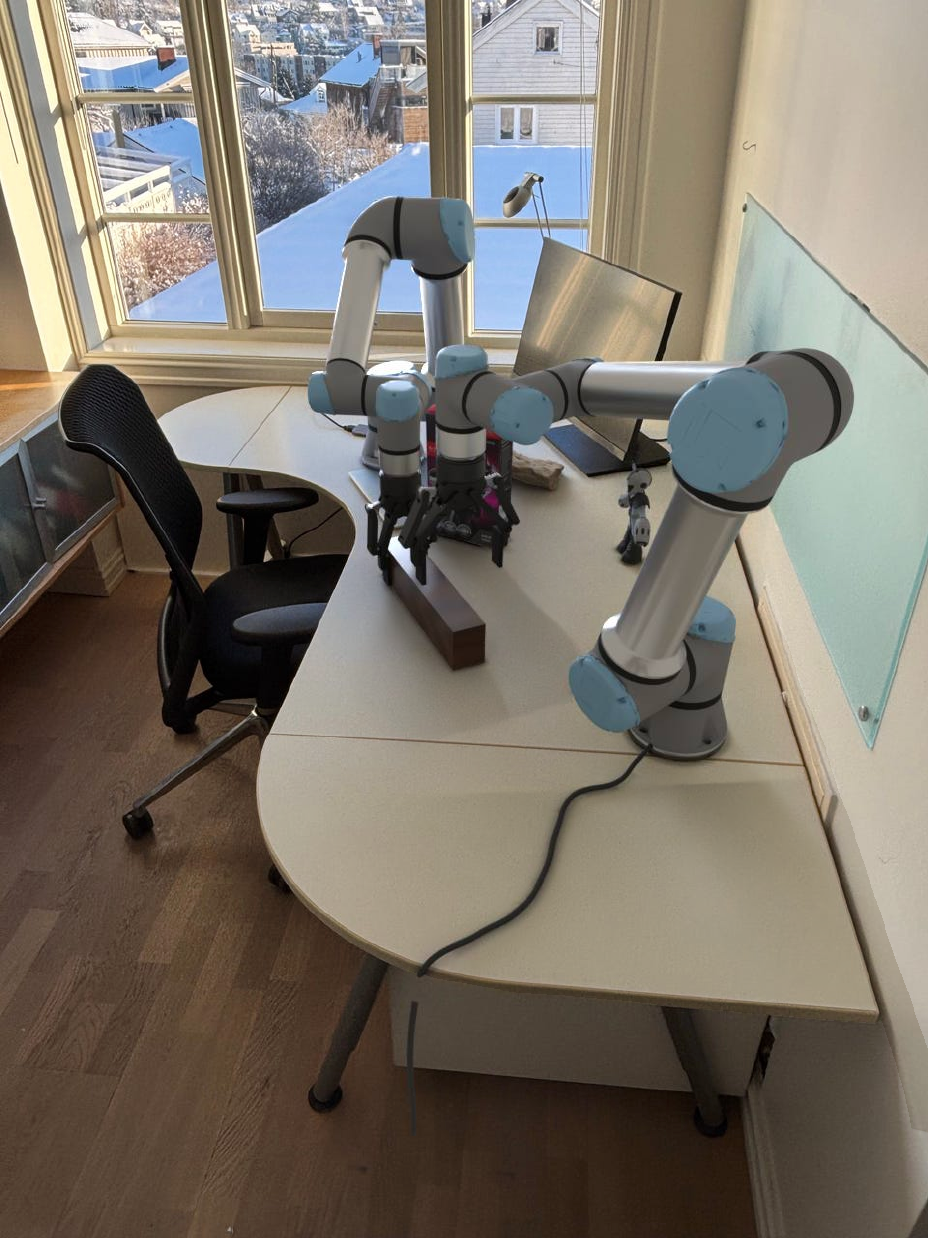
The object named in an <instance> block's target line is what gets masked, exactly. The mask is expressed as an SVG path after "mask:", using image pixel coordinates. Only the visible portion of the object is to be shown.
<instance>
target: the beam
mask: <svg viewBox="0 0 928 1238" xmlns="http://www.w3.org/2000/svg"><path fill="white" fill-rule="evenodd" d="M398 537H399V535H398V536H393V537H391V540H390V544H389V548H388V551H387V553H388V554H389V555H390V556H391V579H392V586H389V587H390V588H391V589H392V591H393V592H394V594H395V595H396V596H397V597H398V599H399V600H400V602H401V603H402V604H403V606H404V607H405V608H406V609H407V611H408V612H409V613H410V615H411V616H412V618H413V619H414V620H415V622H416V623H417V624H418V626H419V628H421V630H422V632H424V634H425V635H426V637H427V638H428V639H429V641H430V642H431V643H432V645H433V646H434V648H435V649H436V650H437V651H438V653H439V654H440V656H441V657H442V658H443V660H444V661H445V662H446V664H447V665H448V666H449V667H450V669H451V671H453V672H454V671H455V672H456V671H457V670H461V669H465V668H470V667H473V666H476V665H480V664H484V663H485V662H486V634H487V633H486V632H487V631H486V629H487V627H486V626H487V624H486V622H485V621H484V620H483V619H482V618H481V616H480V615H479V614H478V612H476V611H475V609H474V608H473V607H472V606H471V604H469V602H468V601H467V600H466V599H465V597H463V595H462V594H461V593H460V591H459V590H457V588H456V587H455V586H454V585H453V583H452V582H451V581H450V580H449V579H448V578H447V577H446V575H445V574H444V573H443V572H442V571H441V569H440V568H439V567H438V566H437V564H435V562H434V561H433V560H432V559H431V558H430V556H429V554H428V555H427V554H426V580H427V585H424V586H422V585H421V584H420V582H419V581H418V580H417V579H416V567H414V565H413V564H412V563H411V561H410V548H408V549H405V548H404V547H403V546H402V545H401V544H400V542H399V541H398ZM381 575H382V577H383V571H381Z"/></svg>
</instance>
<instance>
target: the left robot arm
mask: <svg viewBox="0 0 928 1238" xmlns="http://www.w3.org/2000/svg"><path fill="white" fill-rule="evenodd" d="M475 232H476V231H475V223H474V217H473V213H472V210H471V207H470V205H469V204H468V203H467V201H465V199H462V198H450V197H448V196H442V197H428V196H427V197H425V196H399V195H390V196H389V195H388V196H384V197H382V198H380V199H378V200H376V201H374V202H372V203H371V204H370V205H368V206H367V207H366V208H365V209H364V210H363V211H361V213H360V214H359V215H358V216H357V218H356V219H355V220H354V221H353V223H352V225H351V226H350V228H349V229H348V231H347V233H346V236H345V239H344V241H343V247H342V252H341V257H342V258H341V259H342V261H343V262H344V264H345V265H344V269H343V274H342V280H341V285H340V291H339V295H338V301H337V305H336V309H335V310H336V311H335V315H334V321H333V326H332V330H331V337H330V342H329V347H328V351H327V358H326V362H325V368H324V371H323V370H320V371H314V372H312V373H311V375H310V376H309V378H308V383H307V401H308V404H309V406H310V409H311V410H312V411H313V412H314V413H317V414H323V415H324V414H325V415H330V416H360V417H367V432H366V436H365V439H364V443H363V447H362V450H361V460H362V463H363V464H364V465H365V466H367V467H369V468H371V469H374V470H377V471H379V473H378V476H379V491H380V493H379V497H378V500H377V501H375V502H373V503H369V502H367V503H365V505H364V510H365V513H366V514H367V522H366V523H367V524H366V527H367V528H366V530H367V531H366V549H367V550H368V552H369V553H370V555H371V557H376V556H377V558H376V559H377V566H378V568H379V570H380V571H381V572H382V571H383V576H382V581H383V582H384V583H385V585H386V586H387V587H390V586H392V579H391V556H390V555H389V554H388V553H387V551H388V548H389V544H390V540H391V538H393V537H392V536H393V534H394V530H395V526H396V525H397V523H398V520H399V519H402V518H407V516H408V514H409V512H410V510H411V508H412V505H413V503H414V501H415V499H416V488H417V486H418V485H422V471H421V468H422V463H423V462H424V461H425V449H424V445H423V443H422V440H421V422H424V423H426V411H427V410H428V409H429V408H430V407H431V406H433V405H434V404H435V380H434V377H435V368H436V356H437V354H438V352H439V351H440V350H441V349H443V348H445V347H448V346H452V345H465V331H464V310H463V287H462V275H463V274H464V273H465V272H466V270H467V269H468V265H469V263H471V262H473V261H474V258H475V255H476V254H475V253H476V238H475V235H476V233H475ZM395 260H398V261H410V264H411V267H410V268H411V271H412V273H413V274H414V275H416V276H417V277H418V278H419V284H420V295H421V307H422V319H423V329H424V330H423V332H424V341H425V352H426V353H425V355H426V363H425V364H424V365H423V366H422V368H421V370H416V369H417V367H416V366H415V364H414V363H413V362H411V361H407V360H393V361H387V362H383V363H380V364H377V365H374V366H373V367H371V368H370V369H369V370H368V371H367V368H368V363H369V356H370V350H371V346H372V339H373V334H374V328H375V323H376V317H377V312H378V306H379V300H380V294H381V289H382V283H383V278H384V274H385V273H387V271H388V270H389V269H390V267H391V263H392V261H395ZM423 457H424V458H423ZM421 459H422V460H421ZM436 498H437V497H436V496H435V495H434V496H433V497H432V501H431V502H429V505H428V508H427V511H426V513H425V515H424V517H425V516H426V515H427V513H428V512H429V511H430V509H431V508H432V504H433V502H434V501H435V499H436ZM381 509H383V510H384V514H383V522H382V524H381V525H382V526H381V529H380V534H379V517H378V516H379V515H380V510H381ZM437 542H438V534H437V527H436V528H435V530H434V531H433V532H432V534H431V535H430V536H429V538H428V539H427V540H426V542H425V543H424V545H423V546H424V548H425V549H426V554H427V555H428V556H429V550H430V548H431V544H436V543H437Z"/></svg>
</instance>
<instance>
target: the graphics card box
mask: <svg viewBox="0 0 928 1238" xmlns="http://www.w3.org/2000/svg"><path fill="white" fill-rule="evenodd" d="M425 442H426V443H425V444H426V445H425V446H426V487H434V486H435V484H436V480H437V478H436V453H437V450H436V409H435V404H434V405H433V406H431V407H430V408H429V409H428V410H427V411H426V422H425ZM513 450H514V442H511V441H509V440H505V439H502V438H501V437H499V436H498V435H496V434H494V433H492V432H490V431H488V430H486V450H485V451H484V453H485V455H486V459H485V475H484V477H485V476H489V475H490V473H491V472H492V471H496V472H497V473H498V474H500V475H501V476H502V477H503V479H504V489H505V491H506V493H507V495H508V497H509V499H510V501H511V502H512V490H513V489H512V484H513V479H512V478H513V477H512V459H513ZM435 496H436V497H437V495H435ZM481 497H482V498H483V499H484V500H485V501H486V502H487V503H488V504H489V505H490V506H491V507H492V508H493V509H494V510H495V511H496V512H497V513H498V514H499V515H500V516H501V517H502V518H504V517H506V515H505V513H504V511H503V509H502V507H501V505H500V503H499V501H498V499H497V497H496V495H495V493H494V491H493V489H492V488H490V487H489V486H488V485H487V486H486V488H485V490H484V491H483V493H482V494H481ZM442 507H444V503H443V504H442ZM495 525H497V526H498V524H497V523H496V522H495V521H494V520H493V519H492V518H491V517H490V516H489V515H488V514H487V513H486V512H485V511H484V510H483V509H482V508H481V507H480V506H479V505H478V504H477V503H475V504H474V505H473V506H472V508H468V509H467V508H462V509H460V510H458V511H453V510H451V511H450V512H449V514H448V515H447V516H446V517H443V519H442V520H441V521H440V523H439V524H438V526H437V535H440V536H444V537H446V538H447V537H448V538H452V539H456V540H460V541H463V542H466V543H467V542H468V543H470V544H474V545H478V546H483V547H486V548H490V549H492V526H495ZM510 538H511V532H510V533H508V540H509V539H510Z"/></svg>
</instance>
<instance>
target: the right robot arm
mask: <svg viewBox="0 0 928 1238" xmlns="http://www.w3.org/2000/svg"><path fill="white" fill-rule="evenodd" d="M488 356H489V355H488V353H487V352H486V350H485V349H484V348H482V347H480V346H477V345H472V344H464V345H452V346H448V347H445V348H443V349H441V350H440V351H439V352H438V354H437V356H436V368H435V377H434V380H435V409H436V450H437V453H436V478H437V480H436V484H435V486H434V487H427V486H424V485H423V484H421V485H418V486H417V488H416V499H415V501H414V503H413V505H412V508H411V510H410V512H409V514H408V516H407V517H406V518H405V520H404V523H403V525H402V528H401V530H400V533H399V534H398V536H399V537H398V536H397V537H398V541H399V542H400V544H401V545H402V546H403V547H404V548H405V549H408V548H410V561H411V563H412V564H413V565H414V567H416V579H417V580H418V581H419V582H420V584H421V585H422V586H424V585H427V580H426V549H425V548H424V546H423V545H424V543H425V542H426V540H427V539H428V538H429V536H430V535H431V534H432V532H433V531H434V530H435V528H436V527H437V526H438V524H439V523H440V521H441V520H442V519H443V517H446V516H447V515H448V514H449V512H450V511H451V510H453V511H458V510H460V509H462V508H467V509H468V508H472V506H473V505H474V504H475V503H477V504H478V505H479V506H480V507H481V508H482V509H483V510H484V511H485V512H486V513H487V514H488V515H489V516H490V517H491V518H492V519H493V520H494V521H495V522H496V523H497V524H498V526H497V525H495V526H492V548H491V558H490V559H491V562H492V563H493V564H494V565H495V566H496V567H497V568H498V569H501V568H503V567H504V548H507V547H508V545H509V539H508V533H510V534H511V532H512V531H513V526H518V525H519V524H520V523H521V519H520V517H519V515H518V514H517V511H516V509H515V506H514V505H513V503H512V500H511V501H510V499H509V497H508V495H507V493H506V491H505V489H504V479H503V477H502V476H501V475H500V474H498V473H497V472H496V471H492V472H491V473H490V475H489V476H485V477H484V475H485V459H486V455H485V453H484V451H485V450H486V430H488V431H490V432H492V433H494V434H496V435H498V436H499V437H501V438H502V439H505V440H509V441H511V442H513V443H516V444H518V445H521V446H532V445H534V444H537V443H538V442H540V440H541V438H542V437H544V436H546V435H547V433H548V432H549V430H550V429H551V426H552V424H555V423H559V422H560V421H561V422H562V421H563V420H566V419H570V418H573V417H592V418H593V417H594V418H597V417H599V418H613V419H614V418H616V419H619V418H620V419H634V420H650V421H651V420H652V421H653V420H654V421H668V424H667V431H666V443H667V445H670V448H671V451H669V453H668V455H669V458H670V461H671V466H670V469H671V474H672V477H673V479H674V481H675V483H676V486H675V489H674V492H673V494H672V496H671V497H670V501H669V503H668V505H667V507H666V510H665V512H664V515H663V517H662V519H661V521H660V524H659V526H658V528H657V531H656V533H655V535H654V537H653V540H652V542H651V544H650V546H649V549H648V551H647V554H646V556H645V558H644V560H643V562H642V565H641V567H640V570H639V572H638V574H637V577H636V578H635V581H634V583H633V586H632V588H631V590H630V592H629V595H628V597H627V599H626V602H625V604H624V606H623V608H622V611H621V612H620V613H615V614H614V615H612V616H610V617H609V618H608V619H607V620H606V621H605V623H604V625H603V626H602V628H601V631H600V633H599V635H598V638H597V640H596V643H595V644H594V646H593V648H592V649H591V650H590V651H588V652H587V653H582V654H580V655H579V656H578V657H577V658H576V659H575V660H574V661H572V663H571V664H570V666H569V669H568V684H569V688H570V691H571V692H570V693H571V694H572V696H573V699H574V701H575V702H576V703H575V704H577V706H578V708H579V710H580V711H581V712H582V713H583V714H584V716H585V717H586V718H587V719H588V721H590V722H591V723H593V724H594V725H595V726H596V727H598V728H599V729H601V730H603V731H605V732H610V733H614V734H619V733H624V732H627V734H628V736H629V738H630V739H631V741H632V742H634V744H636V745H637V746H638V747H639V748H640V749H641V750H642V751H641V752H640V753H639V754H638V755H637V756H636V757H635V758H634V759H633V761H632V762H631V763H630V765H629V766H628V768H627V769H626V770H625V771H624V773H623V774H622V775H620V776H619V777H618V778H616V779H614V780H612V781H609V782H604V783H600V784H595V785H588V786H584V787H581V788H579V789H577V790H575V791H574V792H572V793H571V794H570V795H569V796H568V797H567V798H566V799H565V800H564V802H563V803H562V805H561V806H560V809H559V812H558V816H557V818H556V822H555V825H554V828H553V830H552V834H551V838H550V841H549V845H548V851H547V855H546V858H545V861H544V863H543V867H542V869H541V871H540V874H539V876H538V878H537V880H536V882H535V884H534V886H533V888H532V890H531V891H530V892H529V894H528V896H527V897H526V898H525V899H524V900H523V902H522V903H520V904H519V905H518V906H517V907H516V908H515V909H514V910H513V911H511V912H510V913H508V914H507V915H505V916H503V917H502V918H500V919H497V920H495V921H494V922H492V923H489V924H487V925H486V926H483V927H482V928H480V929H478V930H477V931H475V932H473V933H471V934H470V935H468V936H465V937H463V938H461V939H459V940H457V941H455V942H452V943H450V944H447V945H446V946H444V947H442V948H440V949H438V950H437V951H435V952H434V953H433V954H432V955H430V956H429V957H428V958H427V960H425V962H424V963H423V964H422V965H421V966H420V968H419V969H418V971H417V973H416V977H418V978H423V977H424V976H425V974H426V972H427V971H428V970H429V968H430V967H431V966H432V965H433V964H434V963H436V961H437V960H439V959H441V958H442V957H444V956H445V955H447V954H449V953H451V952H453V951H455V950H458V949H460V948H462V947H464V946H467V945H468V944H472V942H475V941H476V940H478V939H480V938H481V937H483V936H485V935H486V934H489V933H490V932H492V931H494V930H497V929H498V928H500V927H502V926H504V925H506V924H508V923H509V922H511V921H513V920H514V919H515V918H517V917H518V916H519V915H521V913H523V912H524V911H525V910H526V909H527V908H528V906H530V905H531V903H532V902H533V901H534V899H535V898H536V896H537V895H538V893H539V892H540V891H541V888H542V886H543V884H544V882H545V880H546V877H547V875H548V873H549V872H550V871H549V870H550V868H551V865H552V862H553V859H554V854H555V851H556V846H557V840H558V837H559V834H560V831H561V829H562V825H563V822H564V818H565V815H566V812H567V809H568V808H569V806H570V804H571V803H572V802H573V801H574V800H576V799H577V798H578V797H579V796H581V795H584V794H587V793H590V792H596V791H603V790H608V789H611V788H614V787H616V786H618V785H621V784H622V783H623V782H624V781H626V780H627V779H628V778H629V776H630V775H631V774H632V772H633V771H634V769H635V768H636V767H637V766H638V765H639V763H640V762H641V761H642V760H643V759H644V758H645V757H646V756H647V754H650V755H651V756H654V757H656V758H659V759H662V760H666V761H670V762H675V763H694V762H700V761H703V760H706V759H709V758H711V757H714V755H716V754H718V752H720V751H721V750H722V748H723V747H724V744H725V743H726V740H727V739H726V738H727V734H728V721H727V716H726V712H725V708H724V707H725V706H724V701H723V692H724V686H725V682H726V678H727V674H728V669H729V664H730V659H731V654H732V651H733V647H734V642H735V641H736V627H737V619H736V617H735V615H734V613H733V611H732V609H730V607H728V606H727V605H726V604H725V603H723V602H722V601H720V600H719V599H717V598H714V597H712V596H709V595H708V593H709V591H710V589H711V587H712V585H713V583H714V581H715V579H716V578H717V576H718V574H719V572H720V570H721V568H722V566H723V564H724V561H725V560H726V558H727V556H728V555H729V553H730V550H731V549H732V546H733V545H734V543H735V541H736V539H737V537H738V535H739V533H740V531H741V530H742V527H743V526H744V524H745V522H746V520H747V518H748V516H749V515H751V514H755V513H759V512H762V511H763V510H765V509H766V508H767V507H768V506H769V505H770V504H771V502H772V500H773V499H774V497H775V495H776V493H777V491H778V489H779V487H780V485H781V484H782V482H783V480H784V478H785V477H786V474H787V473H788V471H789V469H790V468H791V467H792V466H793V464H794V463H798V462H799V461H802V460H803V459H805V458H808V457H809V456H811V455H814V454H816V453H818V452H820V451H823V450H824V449H826V448H827V447H828V446H830V445H831V444H832V443H834V441H836V440H837V439H838V438H839V437H840V436H841V434H842V433H843V432H844V430H845V429H846V427H847V426H848V424H849V422H850V420H851V416H852V414H853V409H854V404H855V392H854V385H853V382H852V380H851V377H850V375H849V373H848V372H847V370H846V368H845V367H844V366H843V365H842V364H841V363H840V362H839V360H838V359H836V358H835V357H834V356H832V355H831V354H829V353H826V351H825V352H824V351H822V350H820V349H815V348H809V347H801V348H793V349H786V350H785V349H784V350H765V351H764V350H762V351H756V352H755V353H752V354H751V355H750V356H749V357H748V358H747V359H746V360H666V361H665V360H664V361H663V360H660V361H659V360H657V361H655V360H654V361H650V360H649V361H648V360H647V361H605V360H603V359H602V358H601V357H596V356H590V357H589V356H588V357H581V358H576V359H573V360H571V361H569V362H566V363H563V364H559V365H556V366H553V367H549V368H546V369H541V370H538V371H534V372H531V373H527V374H524V375H523V374H522V375H520V376H517V377H512V378H507V377H504V376H502V375H500V374H498V373H495V372H494V371H491V370H489V367H490V364H489V357H488ZM487 485H488V486H489V487H490V488H492V489H493V491H494V493H495V495H496V497H497V499H498V501H499V503H500V505H501V507H502V509H503V511H504V513H505V515H506V517H504V518H502V517H501V516H500V515H499V514H498V513H497V512H496V511H495V510H494V509H493V508H492V507H491V506H490V505H489V504H488V503H487V502H486V501H485V500H484V499H483V498H482V497H481V494H482V493H483V491H484V490H485V488H486V486H487ZM434 495H437V498H436V499H435V501H434V502H433V504H432V508H431V509H430V511H429V512H428V513H427V515H426V516H425V513H426V511H427V508H428V505H429V502H431V501H432V497H433V496H434ZM443 503H444V507H442V504H443ZM418 1008H419V1002H417V1001H414V1000H411V1004H410V1010H409V1019H408V1027H407V1037H406V1072H407V1086H408V1087H407V1088H408V1100H409V1101H408V1102H409V1114H410V1115H409V1116H410V1133H411V1134H414V1135H415V1134H416V1133H417V1127H418V1126H417V1104H416V1103H417V1102H416V1090H415V1089H416V1088H415V1075H414V1045H415V1044H414V1043H415V1033H416V1031H415V1030H416V1021H417V1014H418Z"/></svg>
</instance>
